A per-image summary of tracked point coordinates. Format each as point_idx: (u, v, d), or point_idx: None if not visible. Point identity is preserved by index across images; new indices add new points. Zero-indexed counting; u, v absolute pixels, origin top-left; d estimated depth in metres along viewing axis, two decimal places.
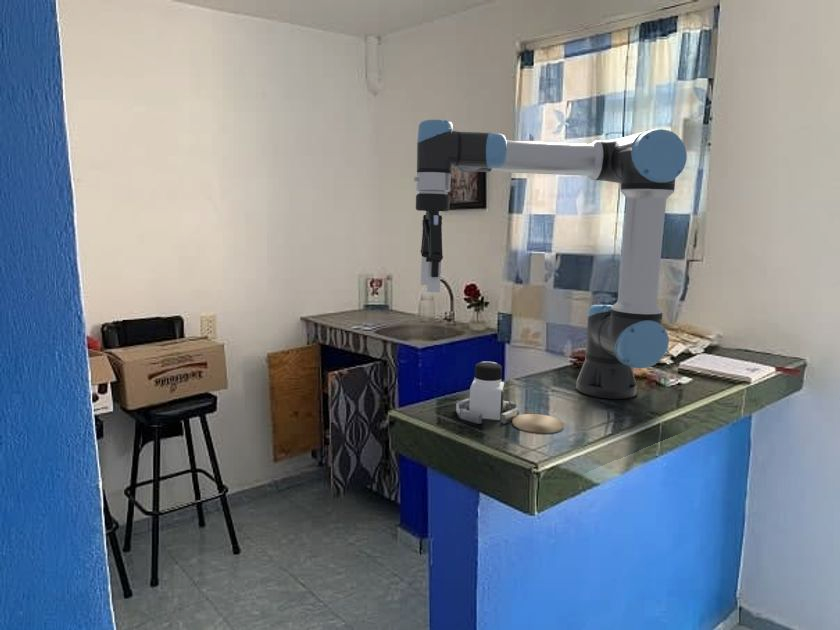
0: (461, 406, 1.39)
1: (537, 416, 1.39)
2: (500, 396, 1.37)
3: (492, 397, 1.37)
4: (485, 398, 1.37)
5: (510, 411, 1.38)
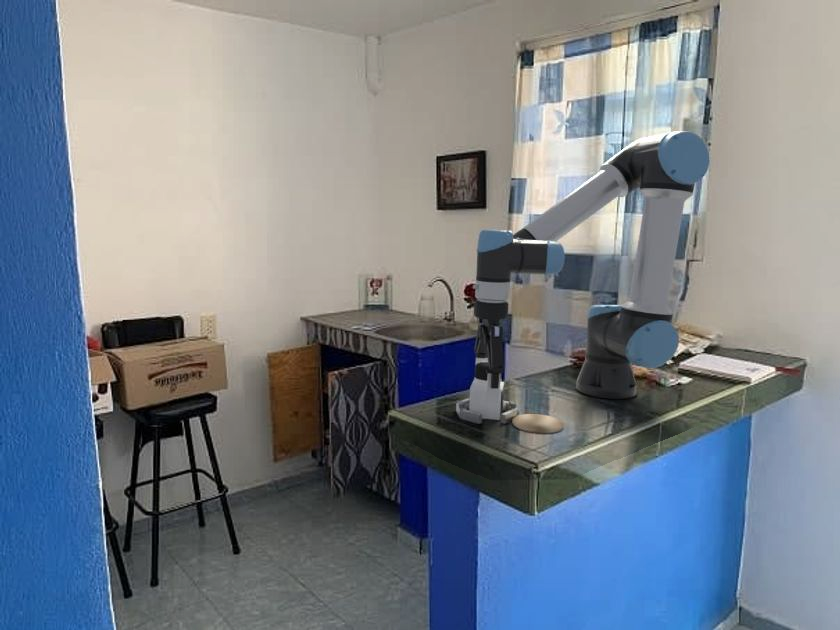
0: (461, 406, 1.39)
1: (537, 416, 1.39)
2: (500, 396, 1.37)
3: None
4: (485, 398, 1.37)
5: (510, 411, 1.38)
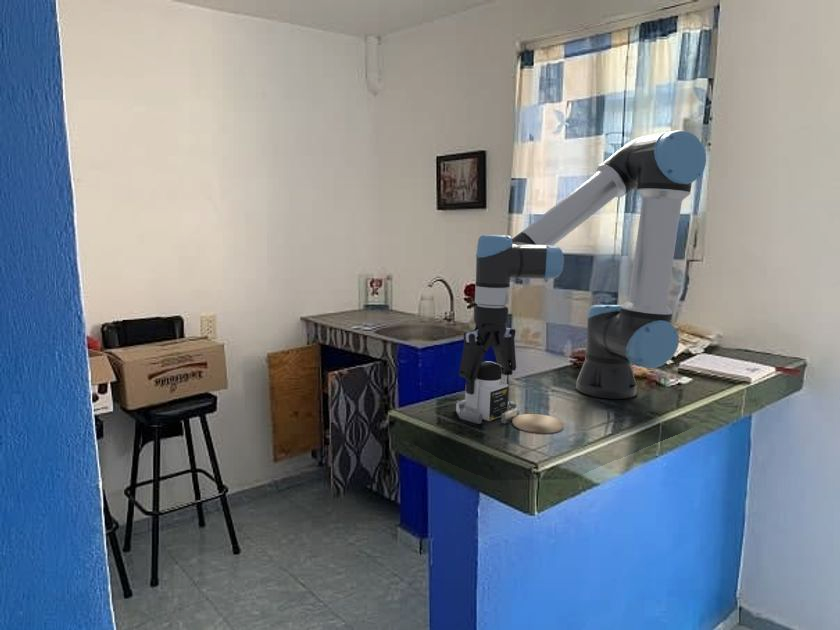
0: (461, 406, 1.39)
1: (537, 416, 1.39)
2: (489, 396, 1.36)
3: (483, 396, 1.37)
4: None
5: (510, 411, 1.38)
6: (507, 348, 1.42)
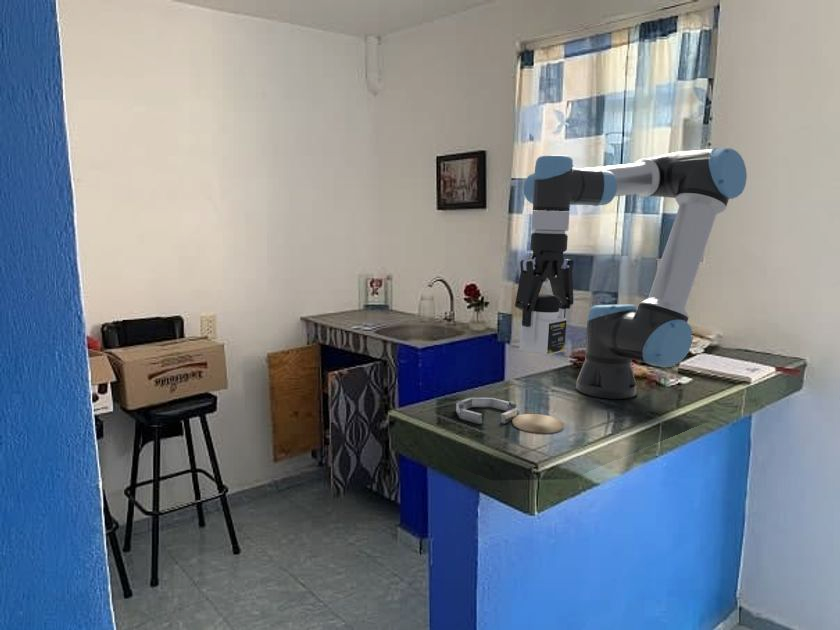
0: (461, 406, 1.39)
1: (537, 416, 1.39)
2: (548, 329, 1.27)
3: (540, 329, 1.29)
4: None
5: (510, 411, 1.38)
6: (565, 281, 1.34)
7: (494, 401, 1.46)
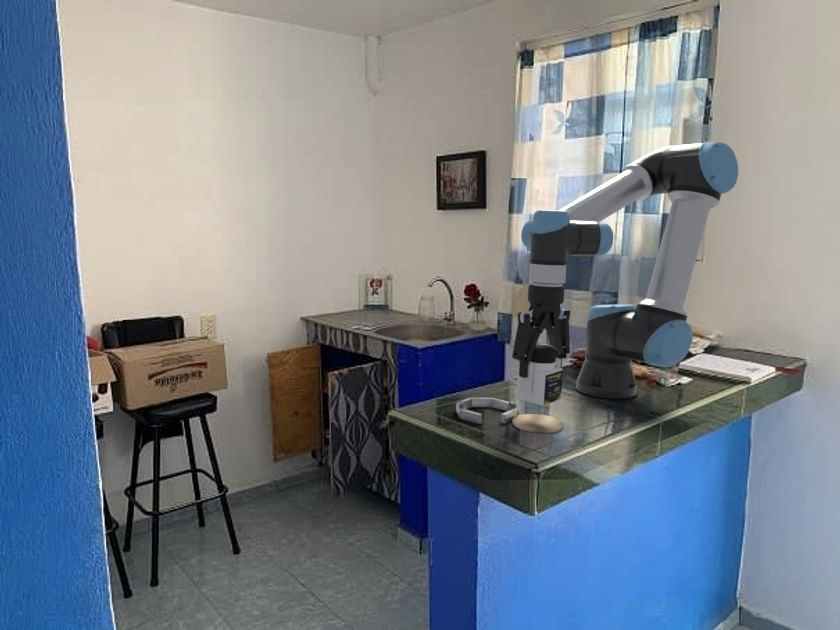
0: (461, 406, 1.39)
1: (537, 416, 1.39)
2: (544, 380, 1.29)
3: (537, 380, 1.30)
4: None
5: (510, 411, 1.38)
6: (561, 330, 1.36)
7: (494, 401, 1.46)
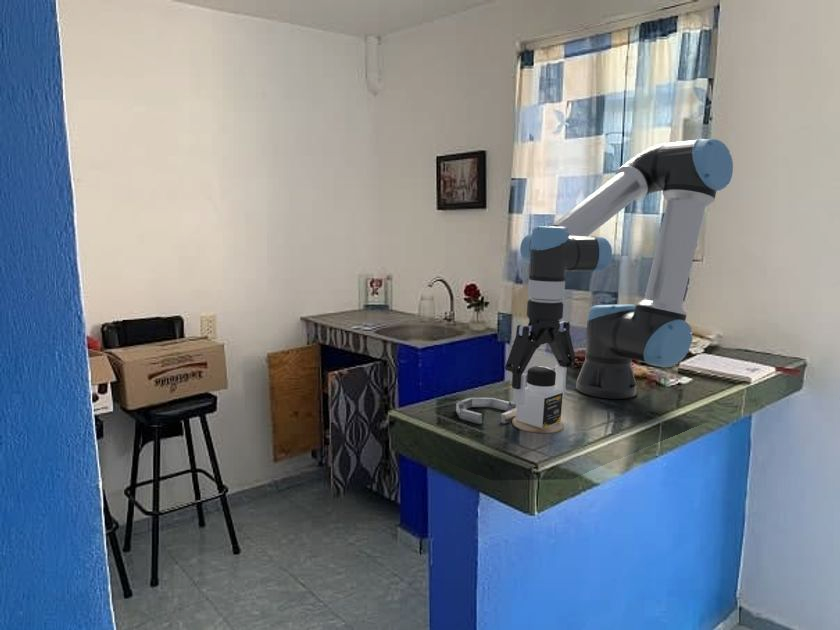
0: (461, 406, 1.39)
1: None
2: (543, 403, 1.30)
3: (536, 403, 1.31)
4: (530, 403, 1.32)
5: (510, 411, 1.38)
6: (564, 341, 1.37)
7: (494, 401, 1.46)
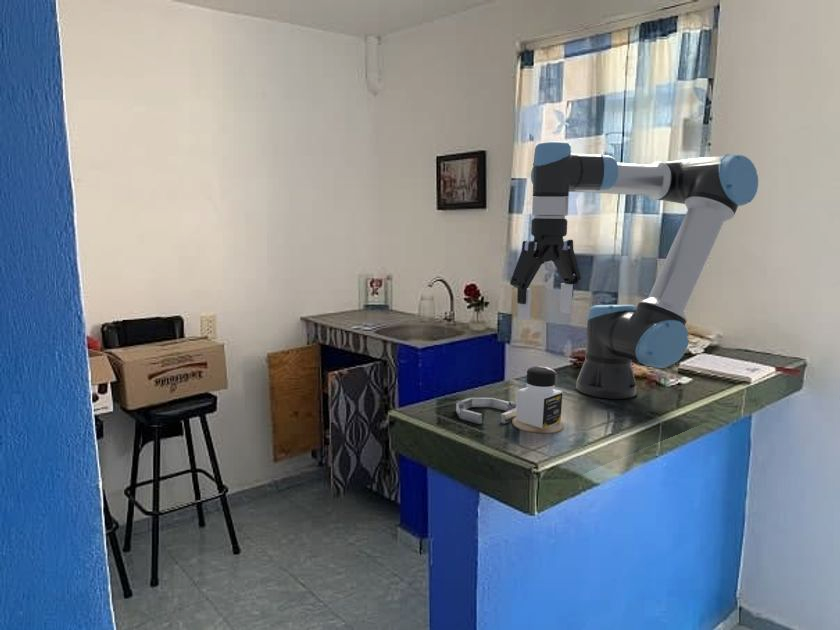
0: (461, 406, 1.39)
1: None
2: (543, 403, 1.30)
3: (536, 403, 1.31)
4: (529, 403, 1.32)
5: (510, 411, 1.38)
6: (568, 260, 1.38)
7: (494, 401, 1.46)
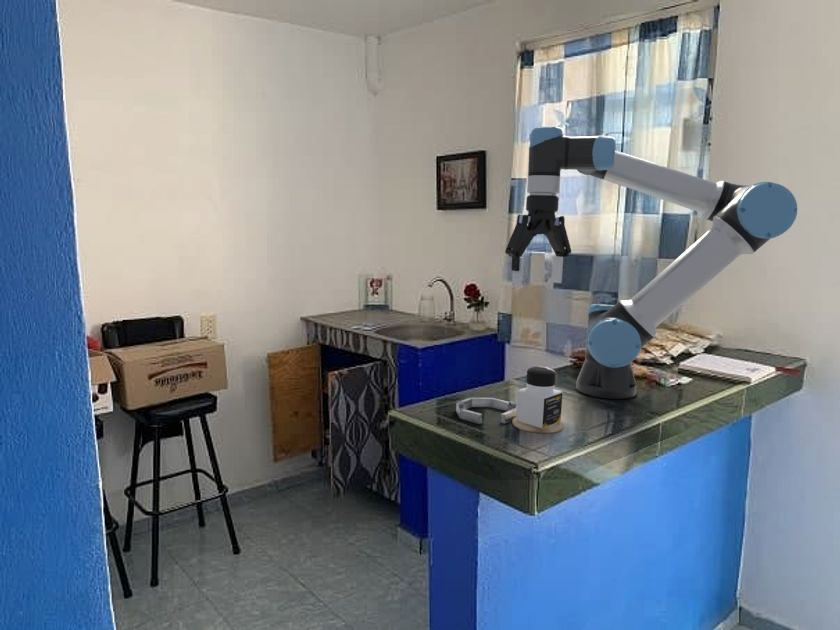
0: (461, 406, 1.39)
1: None
2: (543, 403, 1.30)
3: (536, 403, 1.31)
4: (529, 403, 1.32)
5: (510, 411, 1.38)
6: (560, 234, 1.53)
7: (494, 401, 1.46)
